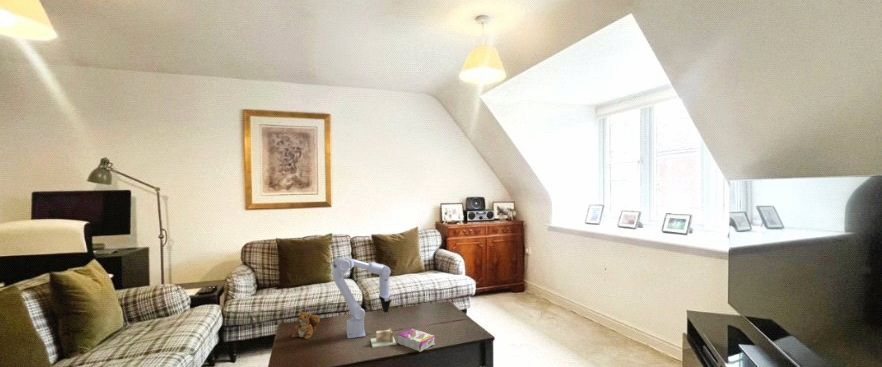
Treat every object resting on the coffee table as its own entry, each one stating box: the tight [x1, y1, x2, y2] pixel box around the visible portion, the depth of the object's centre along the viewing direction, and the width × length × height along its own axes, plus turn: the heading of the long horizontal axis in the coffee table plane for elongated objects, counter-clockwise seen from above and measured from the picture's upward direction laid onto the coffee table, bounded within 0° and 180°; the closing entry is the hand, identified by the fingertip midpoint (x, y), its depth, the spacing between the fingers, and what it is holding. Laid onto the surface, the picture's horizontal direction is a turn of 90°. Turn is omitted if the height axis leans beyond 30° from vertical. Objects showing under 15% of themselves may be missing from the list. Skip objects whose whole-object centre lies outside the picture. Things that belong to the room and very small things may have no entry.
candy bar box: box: [397, 327, 436, 353], centre depth 195 cm, size 11×5×16 cm
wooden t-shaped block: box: [375, 327, 394, 343], centre depth 198 cm, size 8×7×5 cm
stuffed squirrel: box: [291, 311, 321, 340], centre depth 211 cm, size 10×14×13 cm
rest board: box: [370, 336, 397, 349], centre depth 198 cm, size 12×10×1 cm
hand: (385, 310), depth 217 cm, fingers open, 7 cm apart
